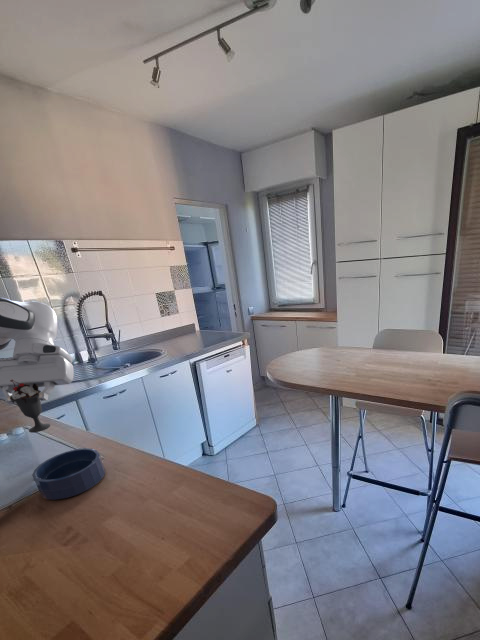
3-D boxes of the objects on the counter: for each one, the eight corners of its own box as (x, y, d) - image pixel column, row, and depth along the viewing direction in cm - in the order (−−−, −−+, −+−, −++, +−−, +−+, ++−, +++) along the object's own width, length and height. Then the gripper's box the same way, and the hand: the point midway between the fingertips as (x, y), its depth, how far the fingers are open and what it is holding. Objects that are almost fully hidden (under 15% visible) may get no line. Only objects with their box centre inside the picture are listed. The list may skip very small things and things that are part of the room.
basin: (28, 505, 80) (18, 485, 78) (59, 470, 94) (51, 452, 91) (92, 496, 82) (84, 476, 80) (113, 463, 95) (107, 445, 93)
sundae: (21, 436, 88) (-3, 383, 82) (28, 426, 93) (6, 375, 87) (51, 430, 90) (30, 378, 84) (56, 420, 96) (36, 371, 90)
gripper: (-16, 353, 89) (-27, 401, 84) (66, 346, 91) (60, 392, 86) (2, 364, 94) (-7, 410, 89) (78, 357, 97) (74, 401, 92)
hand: (26, 401), depth 88 cm, fingers closed on sundae, 6 cm apart
